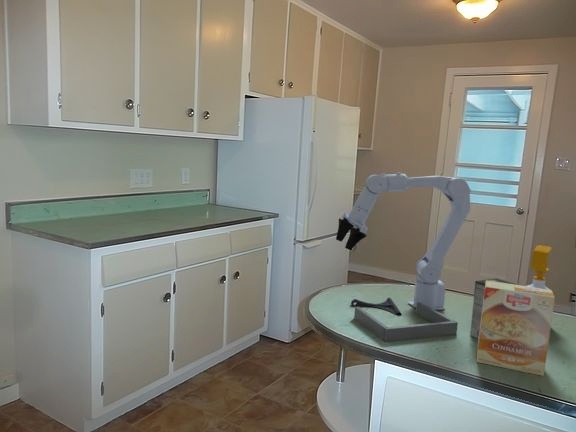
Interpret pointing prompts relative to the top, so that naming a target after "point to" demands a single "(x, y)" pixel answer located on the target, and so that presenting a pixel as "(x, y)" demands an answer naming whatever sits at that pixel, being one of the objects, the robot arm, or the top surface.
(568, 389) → the top surface
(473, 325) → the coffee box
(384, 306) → the bracket
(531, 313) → the coffeecake box
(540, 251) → the soap bottle
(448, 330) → the box
